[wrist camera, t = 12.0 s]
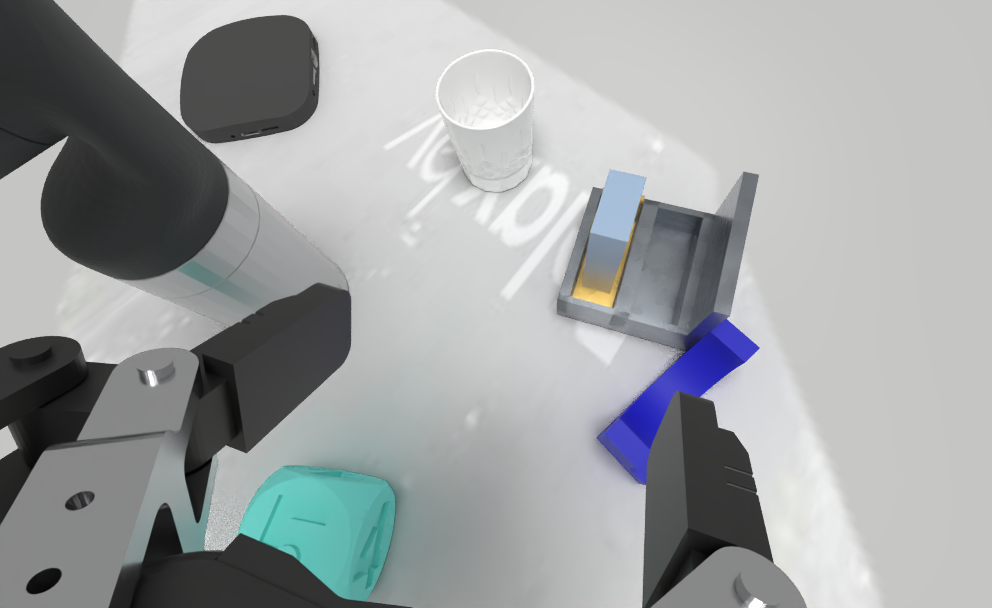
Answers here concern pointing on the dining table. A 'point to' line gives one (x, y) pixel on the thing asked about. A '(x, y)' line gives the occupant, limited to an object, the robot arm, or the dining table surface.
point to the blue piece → (688, 375)
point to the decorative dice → (326, 524)
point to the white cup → (489, 116)
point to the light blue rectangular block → (611, 229)
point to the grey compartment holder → (666, 270)
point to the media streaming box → (250, 79)
